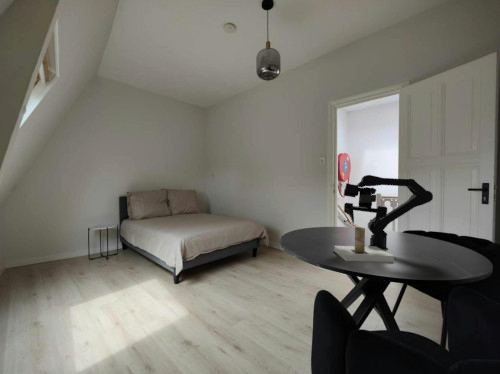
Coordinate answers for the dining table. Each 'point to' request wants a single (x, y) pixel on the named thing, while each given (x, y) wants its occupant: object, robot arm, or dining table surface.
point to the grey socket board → (369, 254)
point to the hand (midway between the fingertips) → (363, 224)
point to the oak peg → (359, 240)
